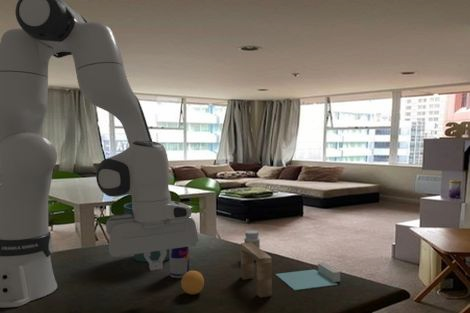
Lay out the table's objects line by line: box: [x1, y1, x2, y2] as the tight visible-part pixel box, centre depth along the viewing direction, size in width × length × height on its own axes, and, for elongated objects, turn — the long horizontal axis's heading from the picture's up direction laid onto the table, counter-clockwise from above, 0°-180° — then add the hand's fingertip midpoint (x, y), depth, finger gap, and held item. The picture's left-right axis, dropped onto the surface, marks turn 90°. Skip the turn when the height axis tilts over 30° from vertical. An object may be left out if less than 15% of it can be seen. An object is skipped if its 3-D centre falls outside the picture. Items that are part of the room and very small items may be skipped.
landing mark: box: [274, 269, 339, 292], centre depth 103 cm, size 12×12×1 cm
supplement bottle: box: [244, 229, 261, 261], centre depth 122 cm, size 5×5×8 cm
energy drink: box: [168, 246, 190, 279], centre depth 107 cm, size 5×5×12 cm
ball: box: [180, 270, 205, 296], centre depth 94 cm, size 6×6×6 cm
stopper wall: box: [317, 262, 341, 283], centre depth 105 cm, size 2×8×2 cm, turn 17°
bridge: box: [240, 242, 273, 298], centre depth 99 cm, size 3×14×9 cm, turn 17°
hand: (156, 268), depth 92 cm, fingers closed
